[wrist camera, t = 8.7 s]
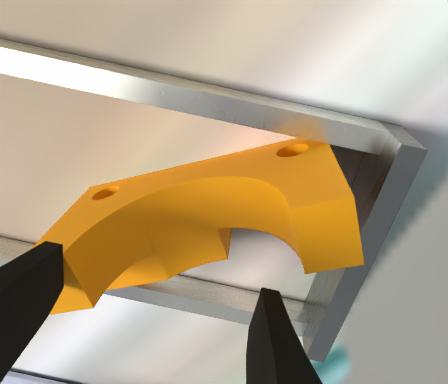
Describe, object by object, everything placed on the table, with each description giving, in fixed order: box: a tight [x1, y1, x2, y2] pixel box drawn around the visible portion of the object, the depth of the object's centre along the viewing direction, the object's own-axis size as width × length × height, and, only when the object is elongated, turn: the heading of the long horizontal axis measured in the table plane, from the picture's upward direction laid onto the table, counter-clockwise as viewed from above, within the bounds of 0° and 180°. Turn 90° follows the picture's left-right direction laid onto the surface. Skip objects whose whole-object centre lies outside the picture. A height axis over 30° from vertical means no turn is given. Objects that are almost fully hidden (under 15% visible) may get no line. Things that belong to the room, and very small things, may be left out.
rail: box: [0, 39, 428, 362], centre depth 17 cm, size 12×30×3 cm, turn 79°
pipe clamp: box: [30, 138, 364, 314], centre depth 16 cm, size 12×4×6 cm, turn 106°
